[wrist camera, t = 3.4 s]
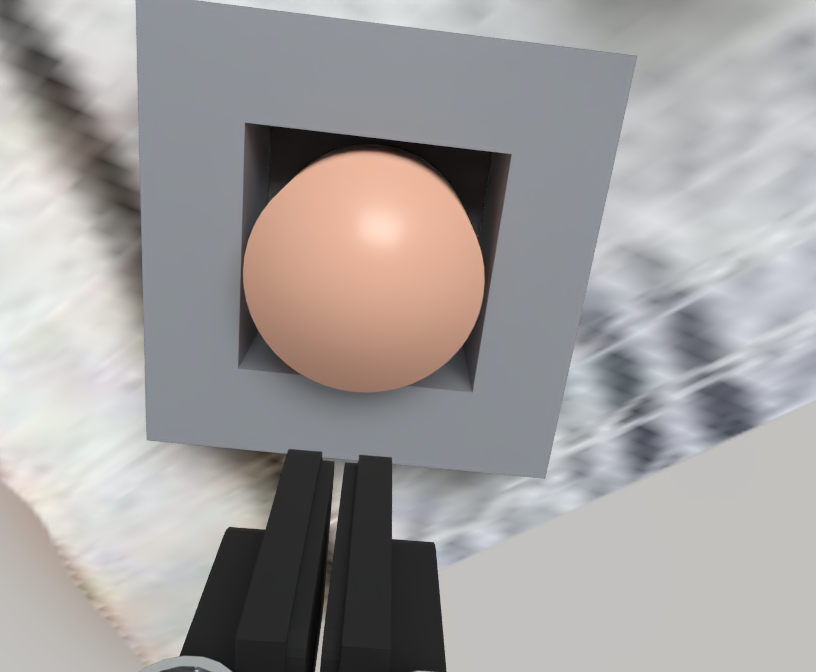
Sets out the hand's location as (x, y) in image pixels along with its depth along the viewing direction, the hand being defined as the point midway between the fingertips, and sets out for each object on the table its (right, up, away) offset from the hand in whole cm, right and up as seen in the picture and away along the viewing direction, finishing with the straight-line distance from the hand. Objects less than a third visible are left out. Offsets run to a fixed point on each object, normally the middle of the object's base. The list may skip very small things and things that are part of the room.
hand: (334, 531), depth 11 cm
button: (0, +7, +16) cm, 18 cm away
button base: (0, +7, +18) cm, 20 cm away
